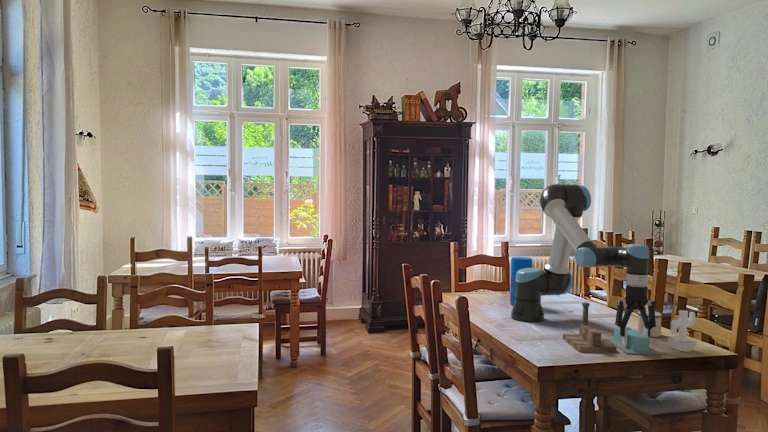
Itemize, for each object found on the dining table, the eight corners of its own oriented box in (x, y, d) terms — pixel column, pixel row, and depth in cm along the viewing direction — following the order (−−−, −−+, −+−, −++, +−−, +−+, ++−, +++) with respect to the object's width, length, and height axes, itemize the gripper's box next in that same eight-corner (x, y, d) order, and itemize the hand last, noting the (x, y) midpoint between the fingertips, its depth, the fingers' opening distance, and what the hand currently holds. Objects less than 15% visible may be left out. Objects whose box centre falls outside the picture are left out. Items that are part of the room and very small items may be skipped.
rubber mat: (604, 339, 216) (604, 337, 216) (634, 339, 216) (634, 338, 216) (627, 354, 196) (627, 352, 196) (659, 354, 196) (659, 353, 196)
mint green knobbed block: (614, 339, 214) (614, 326, 214) (629, 339, 214) (629, 327, 214) (633, 351, 198) (633, 337, 197) (649, 351, 198) (649, 338, 197)
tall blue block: (533, 305, 281) (535, 257, 280) (527, 308, 272) (528, 259, 271) (513, 302, 287) (514, 256, 286) (506, 305, 278) (508, 258, 277)
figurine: (664, 347, 205) (665, 308, 205) (685, 346, 207) (687, 308, 206) (677, 353, 198) (679, 313, 198) (699, 352, 200) (701, 312, 199)
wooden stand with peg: (562, 338, 216) (563, 300, 215) (597, 339, 216) (598, 300, 215) (578, 351, 198) (580, 310, 197) (616, 352, 198) (617, 310, 197)
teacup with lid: (666, 337, 220) (667, 309, 220) (645, 337, 219) (646, 309, 219) (648, 329, 232) (649, 303, 232) (628, 330, 231) (629, 303, 231)
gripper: (614, 286, 198) (612, 347, 199) (668, 287, 198) (666, 348, 199) (606, 283, 205) (604, 341, 206) (658, 283, 205) (655, 342, 206)
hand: (634, 344), depth 203 cm, fingers open, 7 cm apart
